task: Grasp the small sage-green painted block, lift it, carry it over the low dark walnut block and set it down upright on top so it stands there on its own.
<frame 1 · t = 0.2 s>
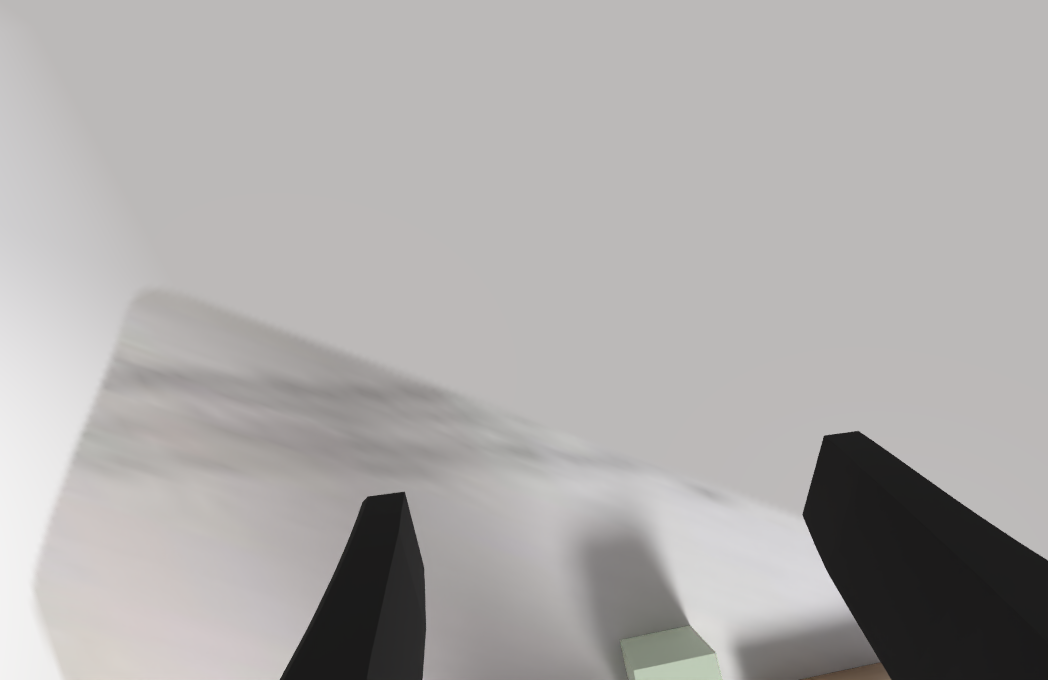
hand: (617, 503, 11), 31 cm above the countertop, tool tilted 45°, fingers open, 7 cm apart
sage block: (663, 670, 39), on the countertop
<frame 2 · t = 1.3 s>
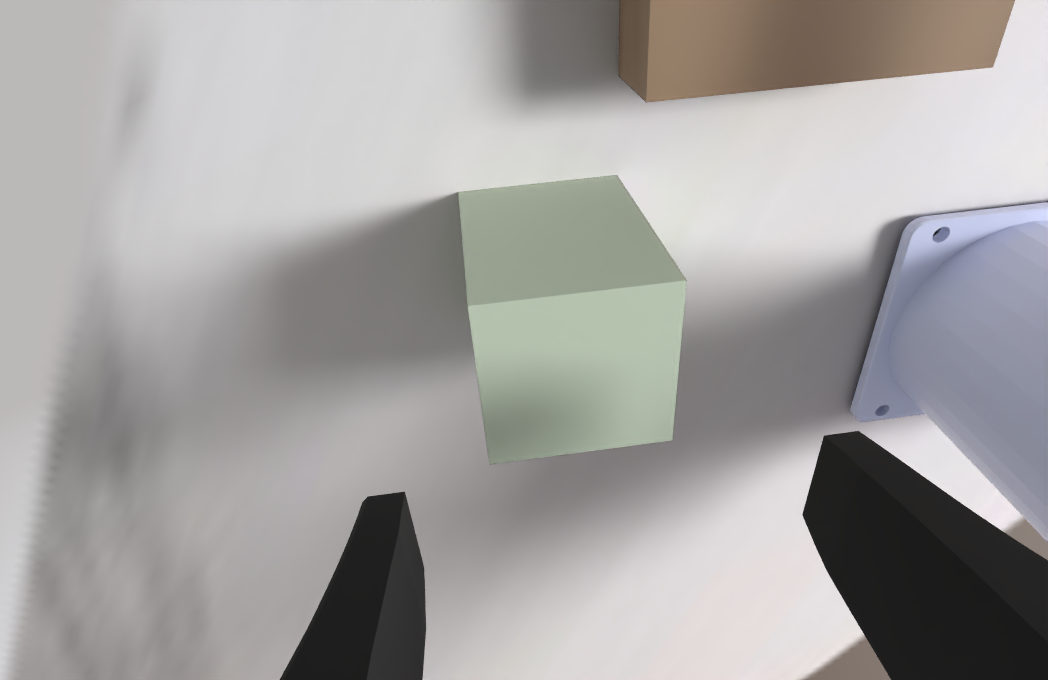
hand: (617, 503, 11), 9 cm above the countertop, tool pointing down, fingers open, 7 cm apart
sage block: (542, 254, 19), on the countertop
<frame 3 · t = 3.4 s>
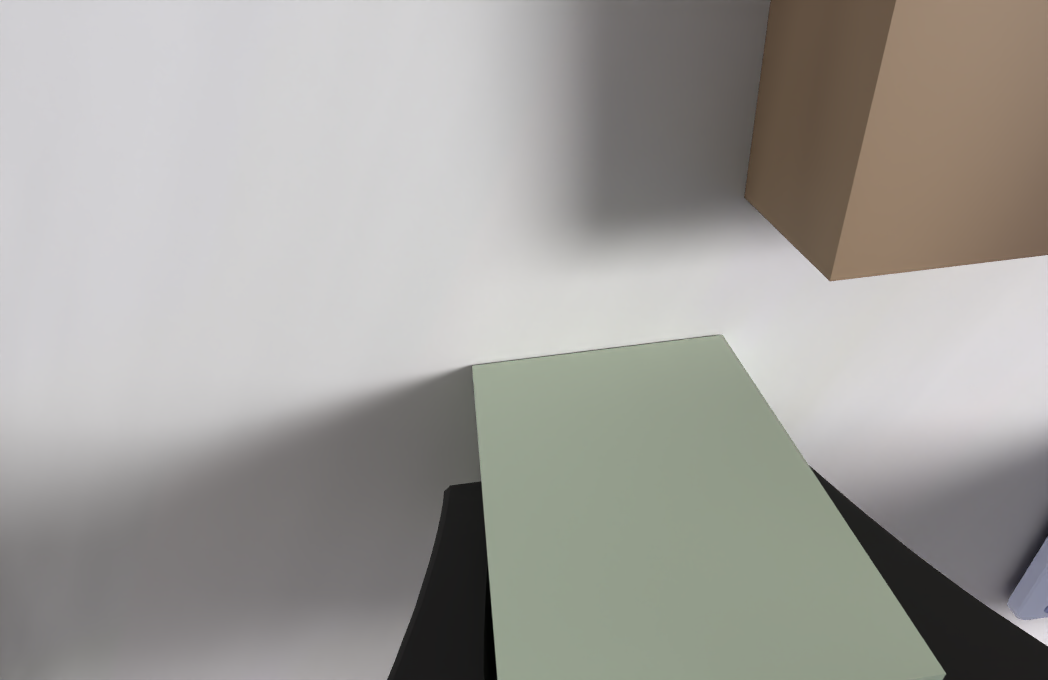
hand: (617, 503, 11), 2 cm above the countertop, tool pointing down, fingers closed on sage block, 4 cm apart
sage block: (598, 442, 12), on the countertop, touching gripper
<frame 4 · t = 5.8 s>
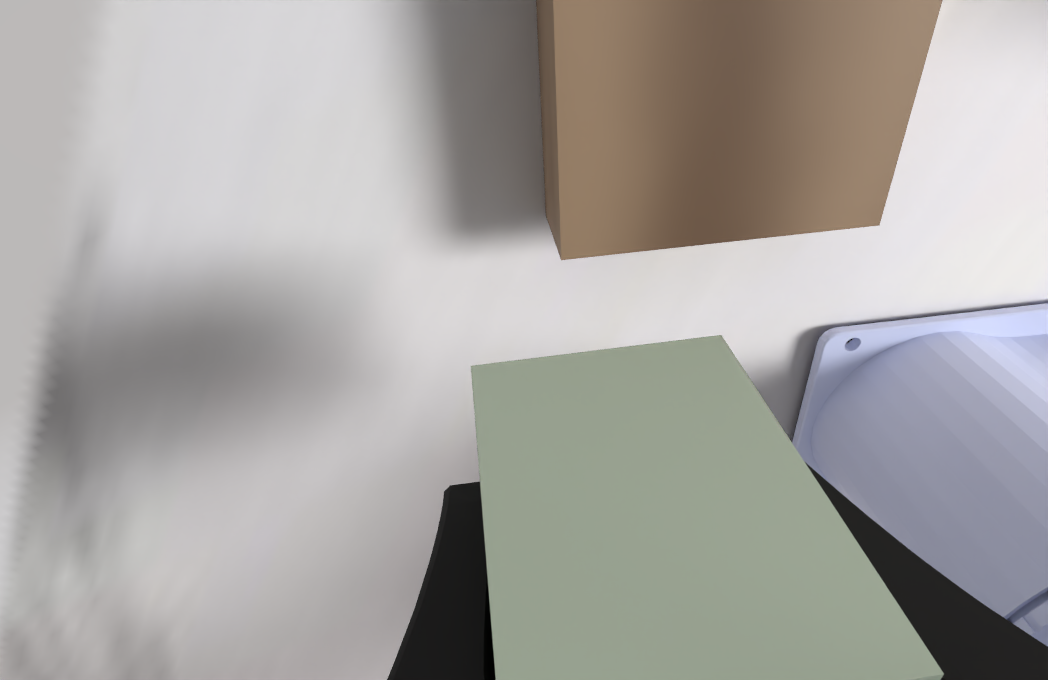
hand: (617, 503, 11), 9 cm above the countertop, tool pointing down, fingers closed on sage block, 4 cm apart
walnut block: (697, 42, 16), on the countertop
sage block: (597, 442, 12), point 7 cm above the countertop, touching gripper
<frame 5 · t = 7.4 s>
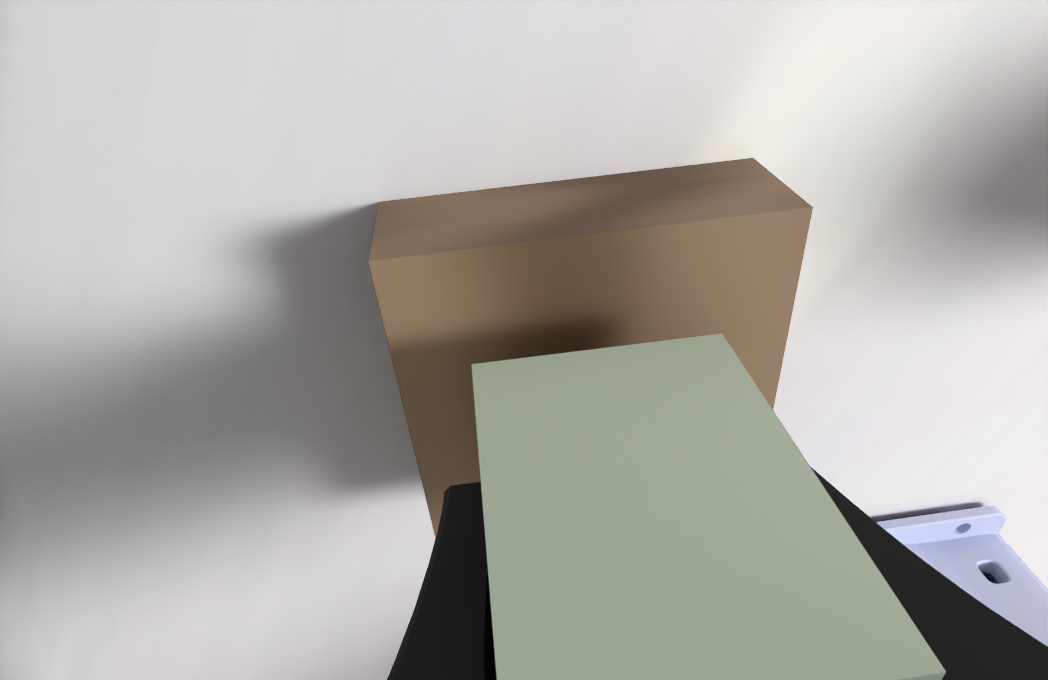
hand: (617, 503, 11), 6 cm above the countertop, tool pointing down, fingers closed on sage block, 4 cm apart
walnut block: (572, 326, 16), on the countertop
sage block: (598, 441, 12), point 4 cm above the countertop, touching gripper
when the fingers open (6 cm above the countertop, at t = 8.4 s): sage block drops 1 cm, point 3 cm above the countertop.
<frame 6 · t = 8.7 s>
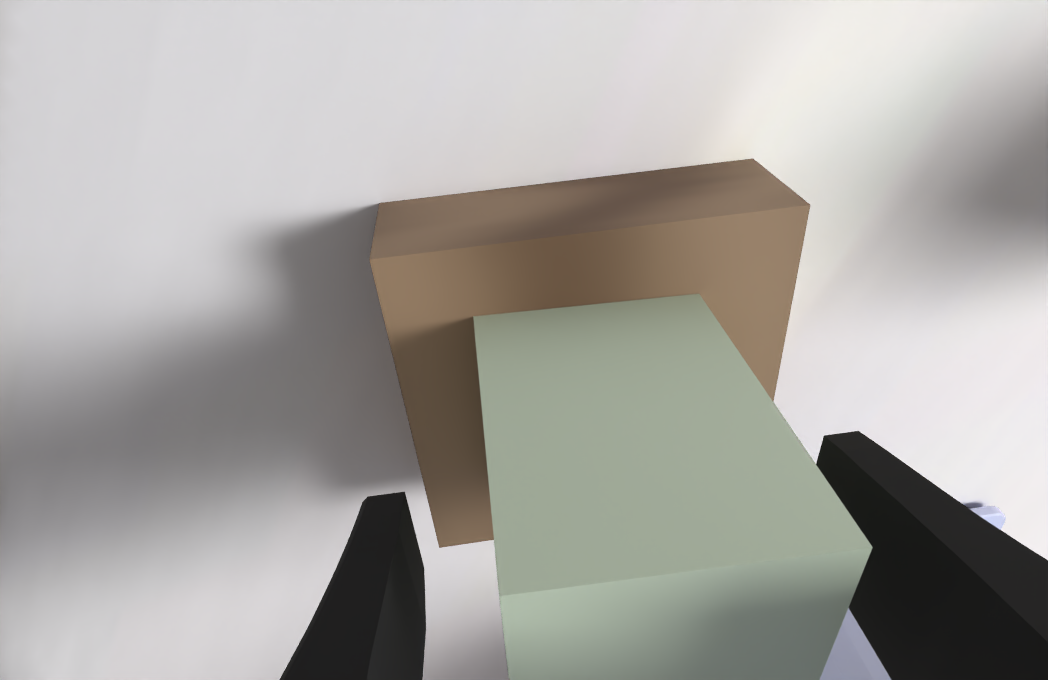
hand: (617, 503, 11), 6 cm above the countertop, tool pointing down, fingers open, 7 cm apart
walnut block: (571, 326, 16), on the countertop
sage block: (586, 394, 14), point 3 cm above the countertop
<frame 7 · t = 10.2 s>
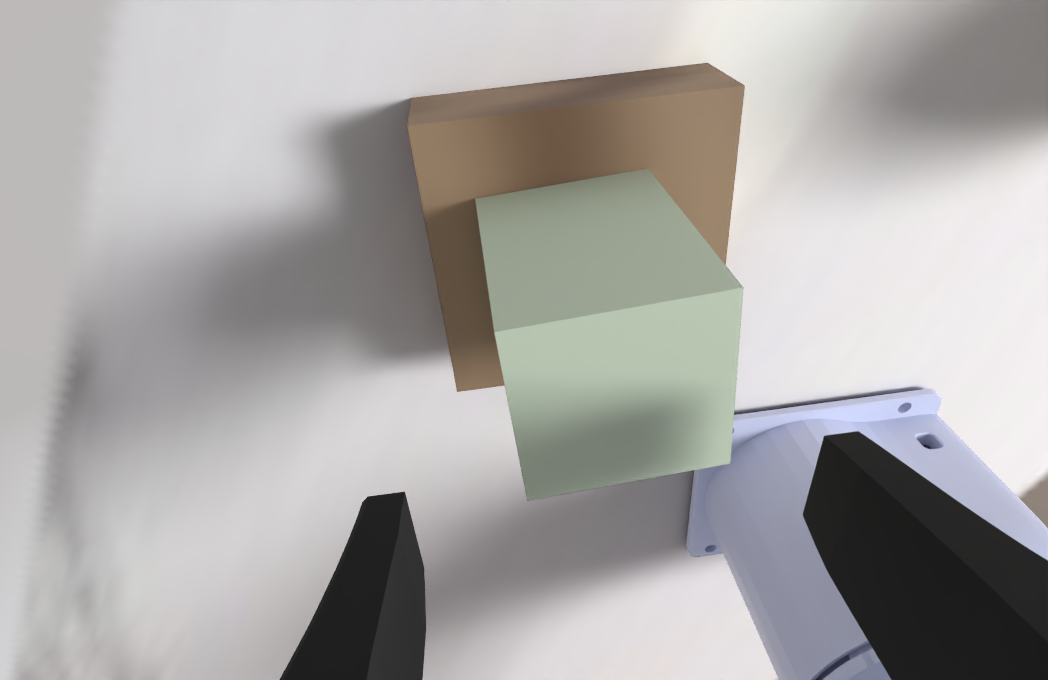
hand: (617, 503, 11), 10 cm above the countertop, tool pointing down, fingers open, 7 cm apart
walnut block: (565, 212, 20), on the countertop, touching sage block
sage block: (570, 260, 17), point 2 cm above the countertop, touching walnut block
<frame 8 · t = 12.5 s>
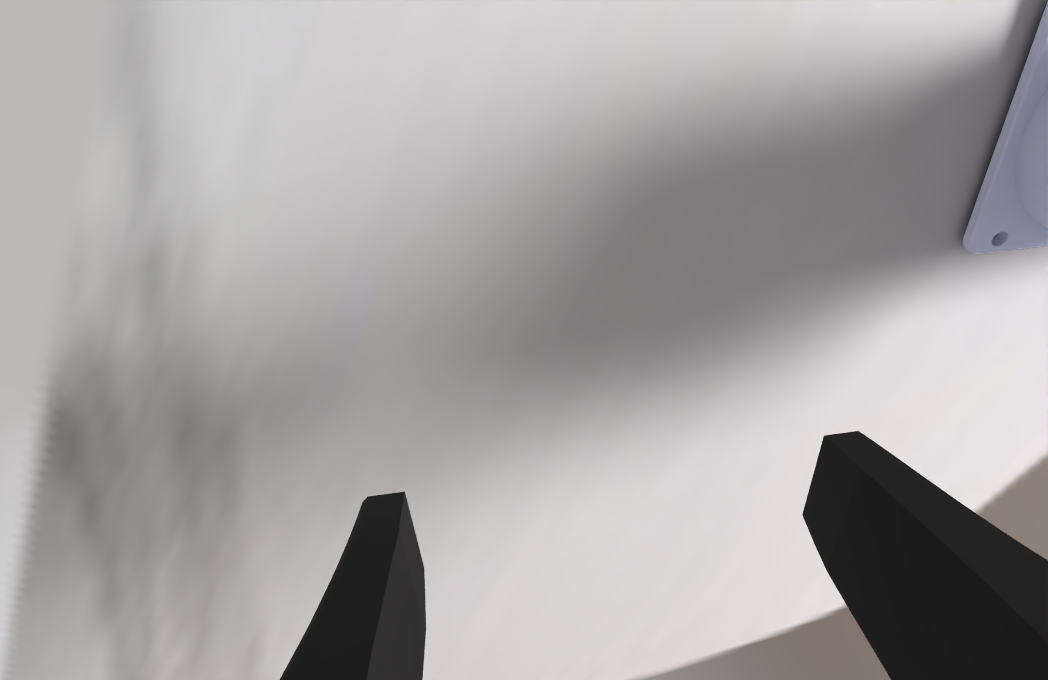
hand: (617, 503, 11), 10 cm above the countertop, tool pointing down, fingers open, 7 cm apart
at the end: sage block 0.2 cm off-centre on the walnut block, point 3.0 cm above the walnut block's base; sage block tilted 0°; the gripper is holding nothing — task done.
